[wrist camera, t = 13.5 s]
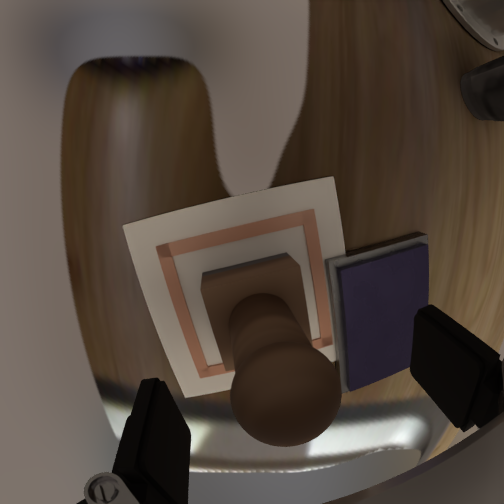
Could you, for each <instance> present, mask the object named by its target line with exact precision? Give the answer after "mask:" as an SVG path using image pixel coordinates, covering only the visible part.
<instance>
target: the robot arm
mask: <svg viewBox="0 0 504 504" xmlns="http://www.w3.org/2000/svg"><path fill="white" fill-rule="evenodd" d="M442 1H443V2H444V3H445V5H446V6H447V8H448V9H449V10H450V12H451V13H452V14H453V15H454V16H455V18H456V19H457V20H458V21H459V22H460V23H461V25H462V26H463V27H464V28H465V29H466V30H467V31H468V32H469V33H470V34H471V35H472V36H473V37H474V38H476V39H477V40H478V41H479V42H480V43H482V44H483V45H485V46H486V47H488V48H489V49H492V50H494V51H502V50H504V0H442ZM499 357H500V354H498V353H497V352H496V351H495V350H493V349H492V348H491V347H490V346H488V345H487V344H486V343H484V342H483V341H482V340H480V339H479V338H478V337H476V336H475V335H474V334H472V333H471V332H470V331H468V330H467V329H466V328H464V327H463V326H462V325H460V324H459V323H458V322H456V321H455V320H453V319H452V318H451V317H449V316H448V315H446V314H445V313H444V312H442V311H441V310H439V309H438V308H437V307H435V306H434V305H432V304H431V305H428V306H425V307H423V308H420V309H419V310H418V311H417V314H416V315H415V316H414V329H413V342H412V353H411V362H410V372H411V375H412V376H413V377H414V379H415V380H416V381H417V382H418V383H419V384H420V386H421V387H422V388H423V389H424V390H425V391H426V393H427V394H428V395H429V396H430V397H431V398H432V400H433V401H434V402H435V403H436V404H437V406H438V407H439V408H440V409H441V410H442V412H443V413H444V414H445V415H446V416H447V418H448V419H449V420H450V421H451V422H452V424H453V425H454V426H455V427H456V428H459V427H460V429H461V430H462V431H463V432H465V431H467V430H468V429H470V428H471V427H473V426H474V425H476V426H477V427H478V430H477V431H476V432H475V433H473V434H471V435H470V436H468V437H467V438H465V439H464V440H462V441H461V442H459V443H457V444H456V445H454V446H453V447H451V448H449V449H448V450H446V451H444V452H442V453H441V454H439V455H437V456H435V457H434V458H432V459H430V460H428V461H426V462H424V463H423V464H421V465H419V466H417V467H415V468H413V469H411V470H409V471H407V472H405V473H402V474H400V475H398V476H396V477H394V478H392V479H389V480H387V481H385V482H382V483H380V484H377V485H375V486H373V487H370V488H367V489H365V490H362V491H359V492H357V493H354V494H351V495H348V496H345V497H342V498H339V499H336V500H333V501H329V502H326V503H323V504H504V359H503V361H501V360H499ZM190 446H191V433H190V429H189V427H188V425H187V424H186V422H185V420H184V418H183V416H182V414H181V412H180V411H179V409H178V407H177V405H176V403H175V401H174V399H173V397H172V395H171V393H170V391H169V389H168V387H167V385H166V383H165V382H164V381H160V380H159V379H158V378H150V379H143V380H142V381H141V383H140V387H139V390H138V393H137V396H136V399H135V402H134V406H133V409H132V412H131V415H130V416H129V417H128V418H127V420H126V423H125V427H124V430H123V433H122V437H121V440H120V444H119V447H118V451H117V454H116V458H115V462H114V465H113V470H112V473H109V472H104V473H99V474H96V475H94V476H93V477H92V478H90V479H89V480H88V482H87V483H86V485H85V487H84V496H85V499H84V500H82V501H80V502H79V503H77V504H188V486H189V464H190Z"/></svg>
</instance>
